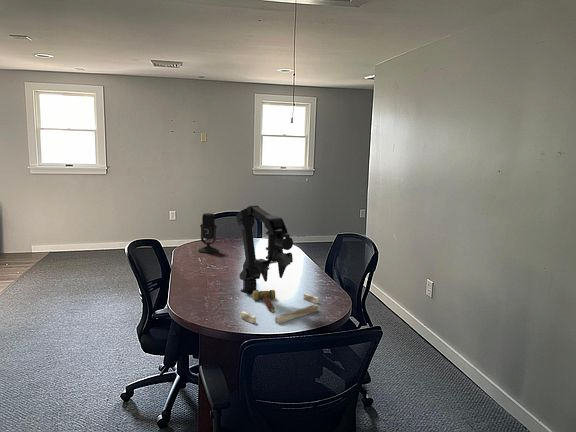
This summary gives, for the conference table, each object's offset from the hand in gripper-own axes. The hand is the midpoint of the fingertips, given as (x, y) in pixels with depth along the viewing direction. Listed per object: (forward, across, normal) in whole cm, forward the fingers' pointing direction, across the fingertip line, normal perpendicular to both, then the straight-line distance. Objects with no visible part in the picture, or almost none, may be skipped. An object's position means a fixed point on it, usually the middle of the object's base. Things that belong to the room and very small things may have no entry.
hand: (273, 279), depth 207 cm
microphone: (+11, +37, +104) cm, 111 cm away
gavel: (+12, -3, 0) cm, 12 cm away
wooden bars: (+11, -3, -12) cm, 17 cm away
